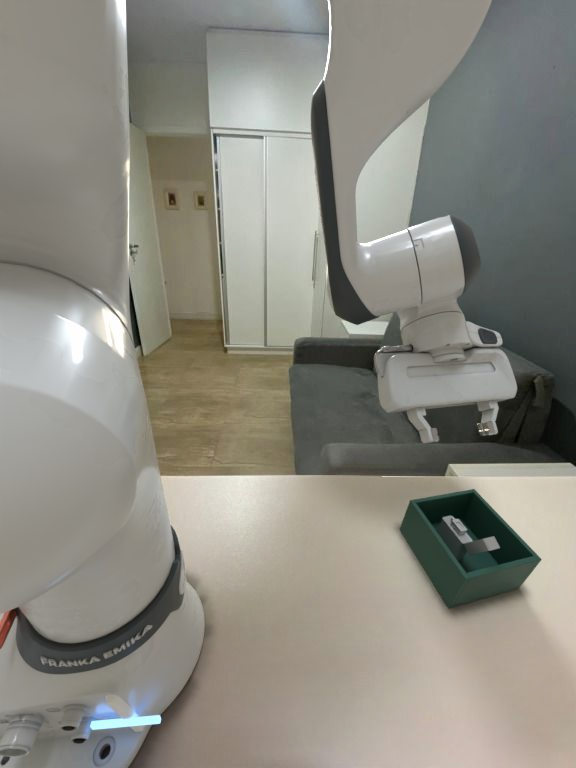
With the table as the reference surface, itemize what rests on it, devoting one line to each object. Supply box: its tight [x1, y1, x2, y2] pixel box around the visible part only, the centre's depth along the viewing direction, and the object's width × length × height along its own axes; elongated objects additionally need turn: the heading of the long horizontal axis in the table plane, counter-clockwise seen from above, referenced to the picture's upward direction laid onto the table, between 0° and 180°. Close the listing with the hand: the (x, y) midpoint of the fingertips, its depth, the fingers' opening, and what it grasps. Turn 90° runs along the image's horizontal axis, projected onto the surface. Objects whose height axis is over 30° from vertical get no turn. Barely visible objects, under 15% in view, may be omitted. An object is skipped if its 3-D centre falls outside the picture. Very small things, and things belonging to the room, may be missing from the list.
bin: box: [399, 488, 543, 609], centre depth 43 cm, size 11×11×6 cm
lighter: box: [437, 516, 500, 561], centre depth 42 cm, size 7×2×8 cm, turn 15°
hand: (460, 438), depth 42 cm, fingers open, 8 cm apart
